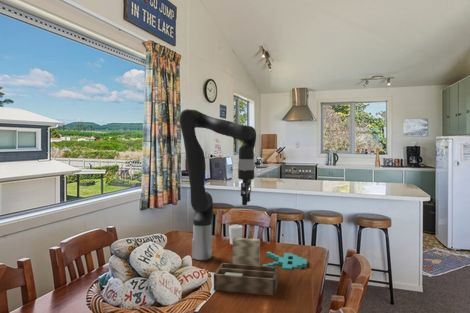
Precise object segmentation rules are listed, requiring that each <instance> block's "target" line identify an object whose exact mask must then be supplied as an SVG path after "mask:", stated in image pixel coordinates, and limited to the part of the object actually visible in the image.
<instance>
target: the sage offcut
mask: <svg viewBox="0 0 470 313" xmlns="http://www.w3.org/2000/svg"><path fill="white" fill-rule="evenodd" d="M224 275H236V276H243V274H242V273H229V272H226V273H225V274H224Z"/></svg>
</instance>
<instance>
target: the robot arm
mask: <svg viewBox="0 0 470 313" xmlns="http://www.w3.org/2000/svg"><path fill="white" fill-rule="evenodd" d="M178 120H179V125H180V129H181V130H180V131H181V134H182V137H183V138H182V140H183V144H184V145H183V146H184V150H185V158H186V159H185V160H186V165H187V172H188V178H189V180H188V181H189V185H190V186H189V188H190V206H191V207H192V210H194V211H195V212H194V213H195V214H194V217H193V219H192V221H193V222H192V223H193V224H192V232H193V234H192V240H191V258H192V259H194V260H197V261H207V260H210V259H212V253H213V252H212V220H213V212H214V210H213V207H214V206H213V205H214V202H213V196H212V195H211V194H210V193H209V192H207V191H206V187H205V175H206V165H207V164H206V159H205V158H206V157H205V152H204V150H203V147H202V146H201V144H200V142H199V140H198V138H197V135H196V128H198V129H199V128H200V129H207V130H210V131H212V132H214V133H217V134H219V135H222V136H225V137H231V138H233V139H235V140H238V141H241V146H240V147H239V149H238V162H237V166H238V167H237V171H238V175H237V177H238V180H242V182H241V183H240V196H241V205H242V206H247V205H248V203H249V202H251V193H252V180H254V179H255V157H254V156H255V153H254V152H255V147H256V146H255V145H256V141H257V132H256V129H255V128H254V127H253V126H251V125H244V124H243V125H242V124H239V123H235V122H233V121H230V120H226V119H221V118H217V117H212V116H210V115H208V114H206V113H202V112H200V111H198V110H196V109H189V108H188V109H182V111H180V114H179V119H178Z"/></svg>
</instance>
